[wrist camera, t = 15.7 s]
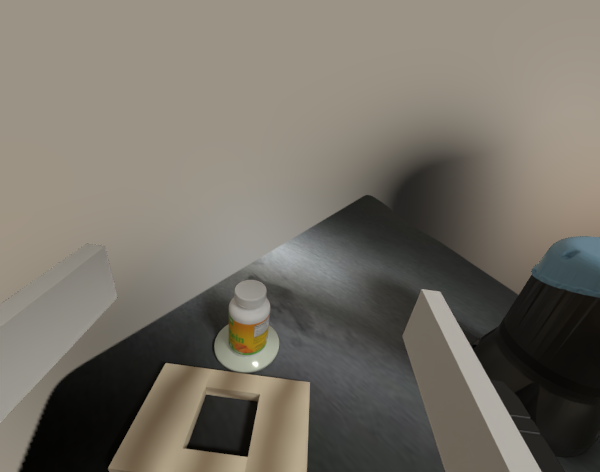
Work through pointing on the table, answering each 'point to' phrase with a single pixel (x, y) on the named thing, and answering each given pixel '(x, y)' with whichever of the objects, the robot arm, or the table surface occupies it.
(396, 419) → the table surface
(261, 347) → the supplement bottle
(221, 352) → the pale green oval pebble
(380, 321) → the table surface
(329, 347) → the table surface
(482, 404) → the robot arm
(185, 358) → the table surface
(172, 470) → the socket plate
